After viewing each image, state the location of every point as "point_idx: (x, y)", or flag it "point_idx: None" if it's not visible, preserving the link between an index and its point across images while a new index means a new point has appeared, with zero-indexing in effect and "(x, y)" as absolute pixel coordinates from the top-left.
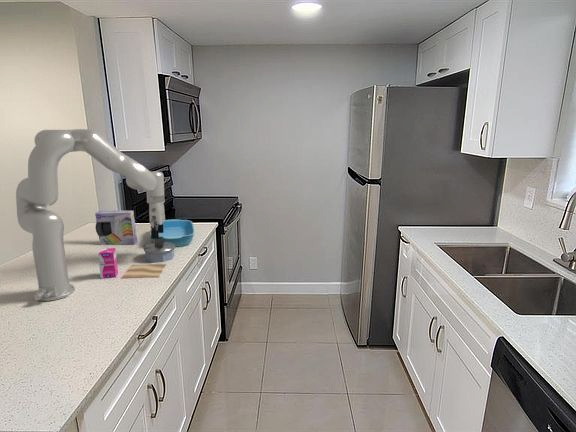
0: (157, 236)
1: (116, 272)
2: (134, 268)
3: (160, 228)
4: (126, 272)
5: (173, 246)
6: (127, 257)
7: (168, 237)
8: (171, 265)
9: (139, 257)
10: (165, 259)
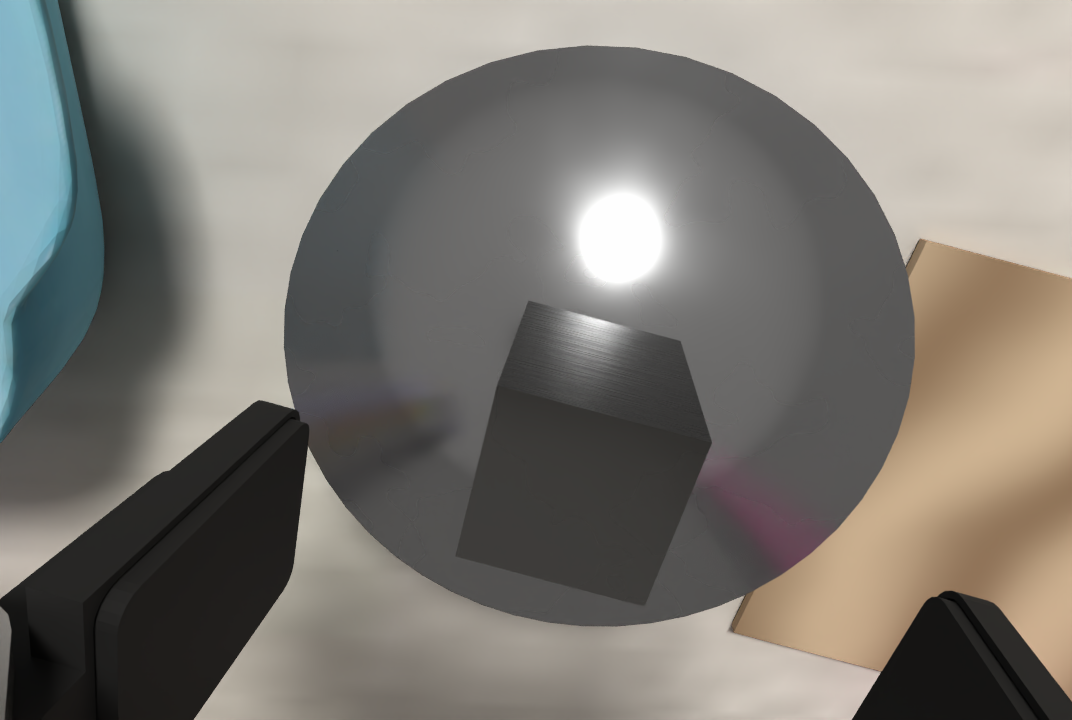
0: (1011, 672)
1: None
2: (881, 615)
3: (217, 576)
4: None
5: (676, 94)
6: (425, 647)
7: (5, 178)
8: (993, 163)
9: None
10: None
